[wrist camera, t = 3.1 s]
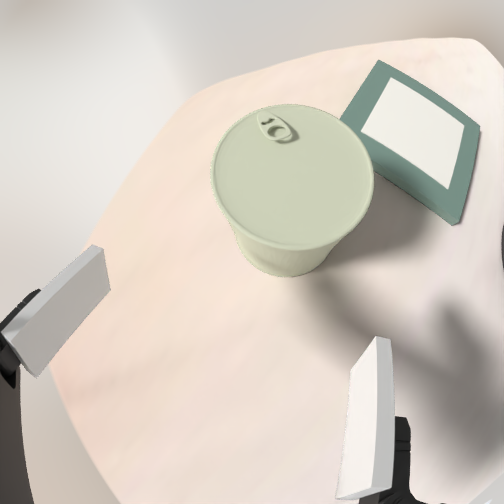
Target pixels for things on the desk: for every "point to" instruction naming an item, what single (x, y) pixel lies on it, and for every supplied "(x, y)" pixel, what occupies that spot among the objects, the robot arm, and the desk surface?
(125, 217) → the desk surface
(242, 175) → the can
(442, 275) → the desk surface
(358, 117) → the board
